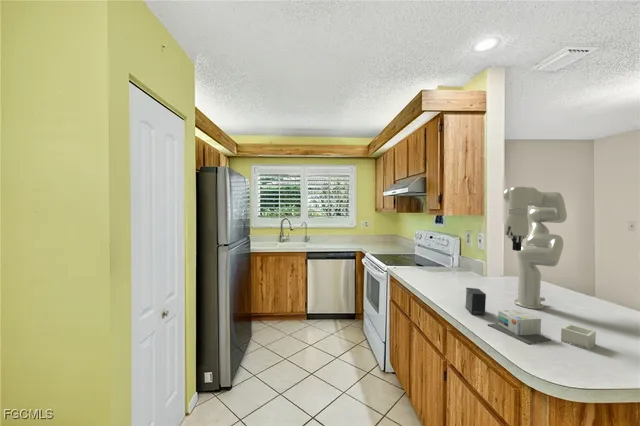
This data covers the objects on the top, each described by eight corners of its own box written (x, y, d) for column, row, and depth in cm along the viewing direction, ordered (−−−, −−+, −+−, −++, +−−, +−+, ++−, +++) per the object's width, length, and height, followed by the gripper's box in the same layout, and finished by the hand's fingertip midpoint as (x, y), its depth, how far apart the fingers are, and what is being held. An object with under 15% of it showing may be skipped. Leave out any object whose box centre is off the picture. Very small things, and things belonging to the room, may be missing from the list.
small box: (486, 316, 137) (486, 294, 136) (471, 314, 138) (472, 293, 138) (478, 308, 147) (479, 288, 147) (464, 307, 148) (465, 287, 148)
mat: (508, 322, 129) (508, 321, 129) (551, 340, 112) (551, 339, 112) (487, 325, 126) (487, 324, 126) (528, 344, 109) (528, 343, 109)
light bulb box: (519, 323, 127) (497, 325, 125) (520, 308, 127) (497, 309, 125) (541, 334, 116) (517, 336, 115) (541, 318, 116) (517, 319, 115)
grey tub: (568, 336, 116) (569, 323, 116) (595, 344, 110) (595, 331, 110) (561, 340, 112) (561, 328, 112) (588, 349, 105) (588, 336, 105)
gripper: (522, 212, 144) (520, 248, 145) (499, 212, 140) (497, 249, 140) (537, 212, 137) (535, 251, 138) (513, 212, 133) (512, 252, 133)
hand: (516, 250), depth 139 cm, fingers closed
